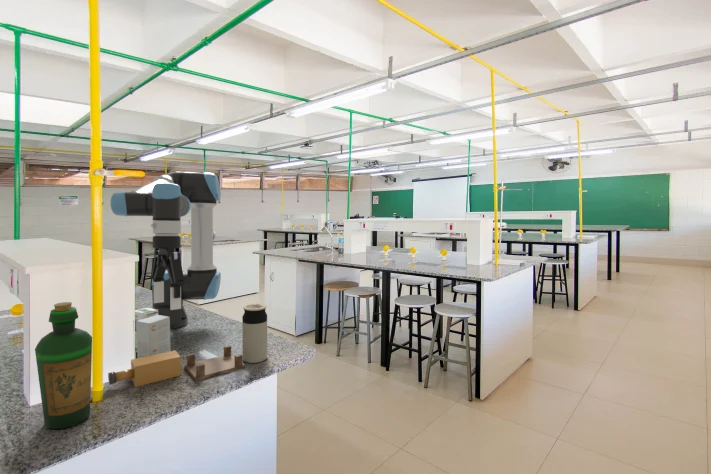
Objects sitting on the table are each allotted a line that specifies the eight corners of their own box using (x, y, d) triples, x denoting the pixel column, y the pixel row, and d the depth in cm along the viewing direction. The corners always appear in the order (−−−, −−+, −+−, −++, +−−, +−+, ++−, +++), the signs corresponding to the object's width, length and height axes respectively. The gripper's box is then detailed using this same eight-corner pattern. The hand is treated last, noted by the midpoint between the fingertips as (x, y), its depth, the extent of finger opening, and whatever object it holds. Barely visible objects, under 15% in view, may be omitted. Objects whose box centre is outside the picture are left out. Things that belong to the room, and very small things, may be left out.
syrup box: (133, 351, 129) (131, 310, 128) (149, 346, 134) (148, 306, 133) (144, 355, 127) (142, 313, 125) (159, 349, 132) (158, 309, 131)
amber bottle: (175, 368, 117) (175, 350, 117) (180, 375, 112) (180, 356, 112) (107, 385, 106) (107, 364, 105) (110, 393, 101) (109, 372, 101)
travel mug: (258, 365, 120) (258, 310, 119) (237, 361, 123) (237, 307, 122) (271, 356, 128) (271, 304, 126) (252, 352, 130) (252, 302, 129)
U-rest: (195, 381, 109) (195, 367, 108) (184, 367, 117) (184, 354, 117) (244, 367, 118) (244, 354, 118) (231, 356, 127) (231, 344, 127)
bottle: (65, 436, 82) (59, 312, 80) (26, 430, 84) (19, 308, 82) (106, 411, 92) (102, 299, 90) (71, 405, 95) (66, 297, 92)
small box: (157, 350, 131) (156, 314, 130) (171, 353, 128) (170, 316, 127) (136, 359, 123) (135, 320, 122) (150, 362, 121) (149, 323, 120)
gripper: (139, 234, 118) (139, 301, 118) (169, 235, 101) (169, 314, 101) (164, 234, 123) (164, 298, 124) (197, 235, 106) (197, 310, 106)
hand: (166, 305), depth 112 cm, fingers open, 13 cm apart
